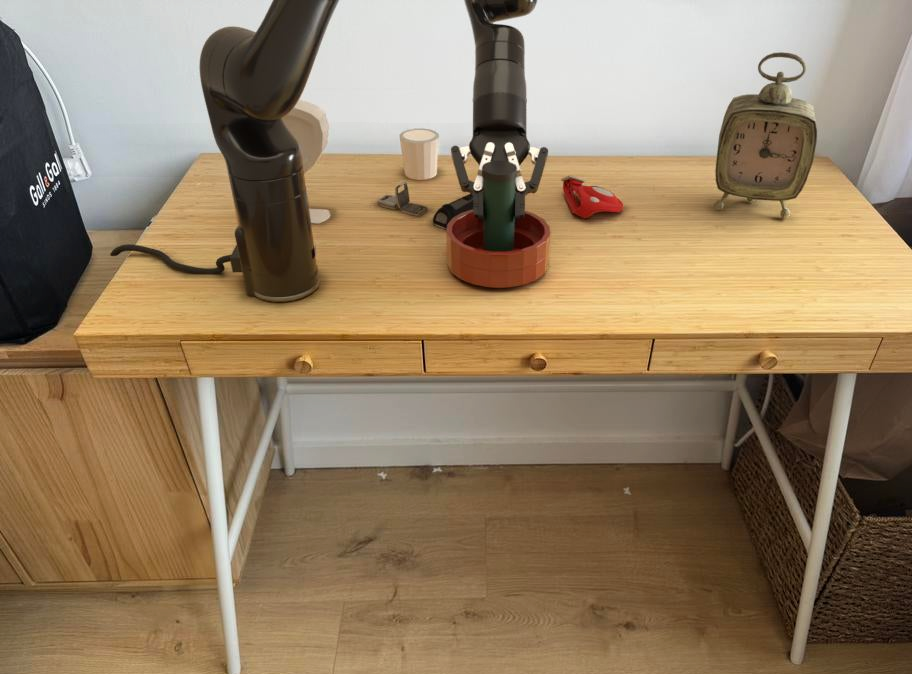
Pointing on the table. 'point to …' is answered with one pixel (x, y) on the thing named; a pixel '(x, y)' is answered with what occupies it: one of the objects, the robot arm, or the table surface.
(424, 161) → the shot glass
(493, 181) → the tube
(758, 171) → the tabletop clock
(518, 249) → the bowl
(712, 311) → the table surface
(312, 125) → the heart sculpture
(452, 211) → the electric trimmer
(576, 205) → the tracker holder
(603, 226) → the table surface
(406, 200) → the strap clip
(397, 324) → the table surface
